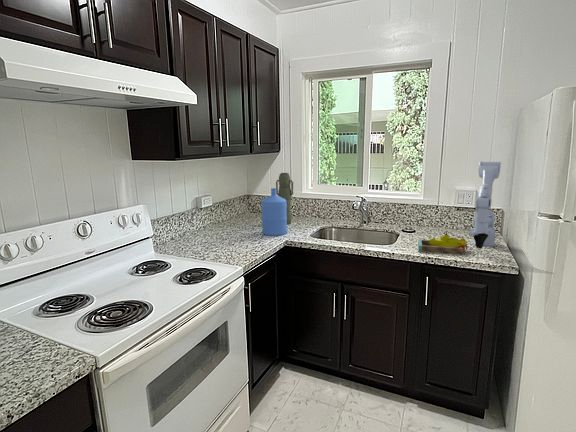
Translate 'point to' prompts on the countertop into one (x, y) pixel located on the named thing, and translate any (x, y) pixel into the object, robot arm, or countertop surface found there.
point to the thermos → (285, 192)
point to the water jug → (274, 215)
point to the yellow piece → (449, 242)
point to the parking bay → (437, 248)
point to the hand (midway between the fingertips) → (479, 247)
